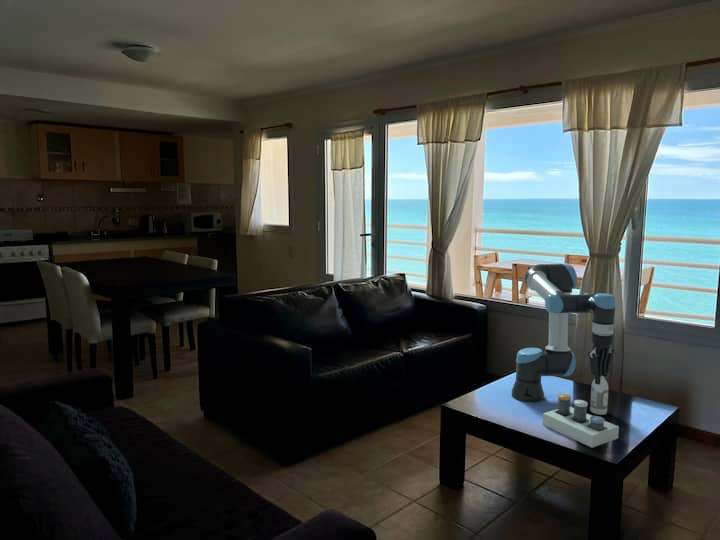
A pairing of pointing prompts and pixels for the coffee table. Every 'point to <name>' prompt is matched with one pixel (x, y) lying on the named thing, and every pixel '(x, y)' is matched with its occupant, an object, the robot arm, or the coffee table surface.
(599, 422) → the knob
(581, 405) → the knob
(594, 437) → the mount
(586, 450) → the coffee table surface
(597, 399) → the bath foam
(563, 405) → the knob
